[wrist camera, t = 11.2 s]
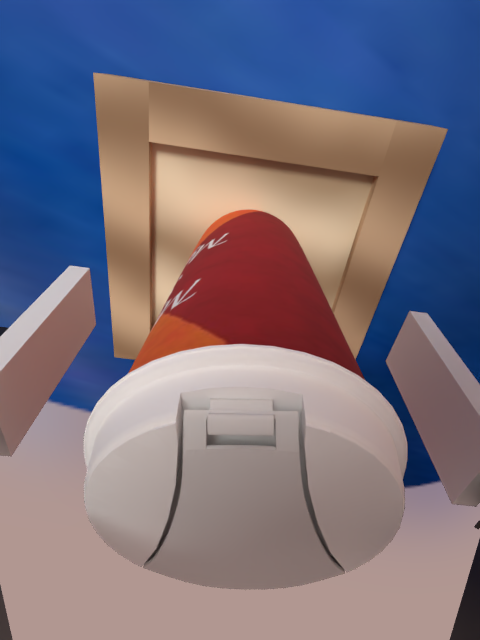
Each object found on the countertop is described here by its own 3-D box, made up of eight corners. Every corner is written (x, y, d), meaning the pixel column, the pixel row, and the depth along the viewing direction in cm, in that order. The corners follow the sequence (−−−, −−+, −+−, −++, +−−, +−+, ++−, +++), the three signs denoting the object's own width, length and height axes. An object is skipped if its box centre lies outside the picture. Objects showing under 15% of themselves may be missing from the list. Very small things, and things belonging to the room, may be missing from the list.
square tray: (109, 74, 17) (93, 72, 16) (429, 124, 18) (447, 129, 16) (123, 338, 26) (114, 356, 24) (339, 365, 27) (345, 385, 25)
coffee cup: (169, 186, 19) (-3, 392, 6) (328, 185, 18) (492, 398, 6) (185, 321, 23) (105, 597, 11) (312, 322, 23) (385, 606, 10)
